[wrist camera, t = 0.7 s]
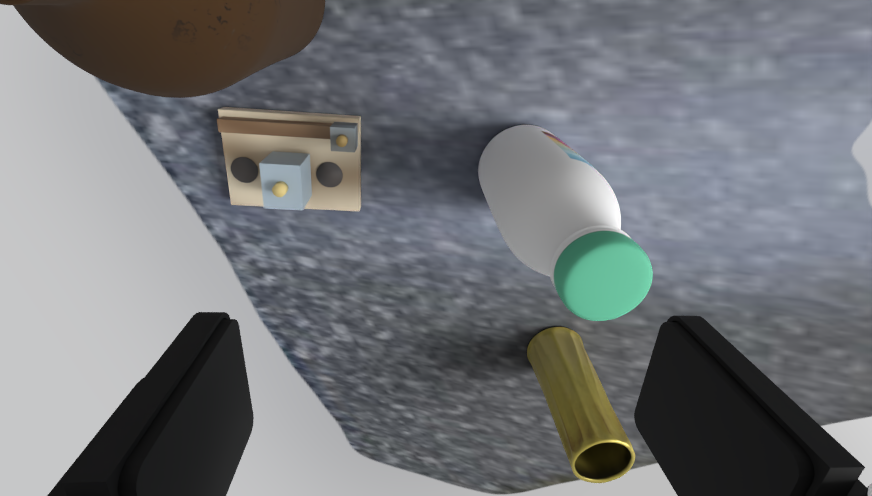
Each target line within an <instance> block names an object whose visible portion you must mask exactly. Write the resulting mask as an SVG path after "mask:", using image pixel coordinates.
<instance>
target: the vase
mask: <svg viewBox="0 0 872 496" xmlns="http://www.w3.org/2000/svg"><path fill="white" fill-rule="evenodd" d="M527 357H528V360H529V362H530V363H531V365H532V367H533V370H534V372H535V375H536V377H537V379H538V382H539V384H540V386H541V388H542V391H543V393H544V396H545V398H546V401H547V404H548V406H549V409H550V411H551V414H552V417H553V419H554V422H555V425H556V428H557V430H558V433H559V436H560V438H561V441H562V444H563V447H564V449H565V452H566V454H567V457H568V459H569V462H570V465H571V467H572V470H573V473H574V474H575V475H576V476H577V477H578V478H579V479H581V480H584V481H587V482H591V483H604V482H608V481H612V480H615V479H617V478H620V477H621V476H623V475H624V474H625V473H626V472H628V471H629V470H630V469H631V467H632V465H633V463H634V460H635V453H634V450H633V448H632V445H631V443H630V441H629V439H628V438H627V436H626V434H625V432H624V430H623V428H622V426H621V424H620V422H619V420H618V418H617V416H616V414H615V412H614V410H613V409H612V407H611V405H610V402H609V400H608V398H607V396H606V393H605V391H604V389H603V387H602V384H601V382H600V380H599V378H598V376H597V374H596V372H595V369H594V367H593V365H592V363H591V361H590V359H589V357H588V355H587V353H586V351H585V349H584V346H583V343H582V340H581V337H580V336H579V335H578V334H577V333H576V332H575V331H573V330H571V329H568V328H565V327H552V328H548V329H545V330H543V331H541V332H540V333H538V334H537V335H536V336H535V337H534V338H533V339H532V340H531V341H530V343H529V345H528V348H527Z"/></svg>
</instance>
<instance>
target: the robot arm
mask: <svg viewBox="0 0 872 496" xmlns="http://www.w3.org/2000/svg"><path fill="white" fill-rule="evenodd" d="M634 418H635V423H636V426H637V428H638V430H639V432H640V434H641V435H642V437H643V439H644V440H645V442H646V444H647V445H648V447H649V449H650V450H651V452H652V454H653V455H654V457H655V459H656V460H657V462H658V464H659V465H660V467H661V468H662V470H663V472H664V473H665V475H666V477H667V479H668V480H669V482H670V483H671V485H672V487H673V489H674V490H675V492H676V494H677V495H678V496H872V484H870V485H869V486H868V488H867V487H865V486H864V485H863V484H862V483H861V482H860V481H859V480H858V477H859V476H860V474H861V473H862V470H863V469H864V468H865V467H864V466H863V465H862V464H861V463H860V462H859V461H858V460H857V459H855V458H854V457H853V456H852V455H851V454H850V453H849V452H848V451H847V450H846V449H845V448H844V447H842V446H841V445H840V444H839V443H838V442H837V441H836V440H835V439H834V438H833V437H832V436H831V435H829V434H828V433H827V432H826V431H825V430H824V429H823V428H822V427H821V426H820V425H819V424H817V423H816V422H815V421H814V420H813V419H812V418H811V417H810V416H809V415H808V414H807V413H806V412H804V411H803V410H802V409H801V408H800V407H799V406H798V405H797V404H796V403H795V402H794V401H793V400H791V399H790V398H789V397H788V396H787V395H786V394H785V393H784V392H783V391H782V390H781V389H780V388H778V387H777V386H776V385H775V384H774V383H773V382H772V381H771V380H770V379H769V378H768V377H766V376H765V375H764V374H763V373H762V372H761V371H760V370H759V369H758V368H757V367H756V366H755V365H753V364H752V363H751V362H750V361H749V360H748V359H747V358H746V357H745V356H744V355H743V354H742V353H740V352H739V351H738V350H737V349H736V348H735V347H734V346H733V345H732V344H731V343H730V342H728V341H727V340H726V339H725V338H724V337H723V336H722V335H721V334H720V333H719V332H718V331H717V330H715V329H714V328H713V327H712V326H711V325H710V324H709V323H708V322H707V321H706V320H705V319H703V318H702V317H700V316H672V317H670V318H669V319H668V321H667V322H665V323H663V324H662V325H661V327H660V330H659V333H658V336H657V340H656V343H655V346H654V350H653V353H652V356H651V359H650V363H649V366H648V369H647V373H646V376H645V379H644V383H643V386H642V389H641V392H640V396H639V399H638V402H637V406H636V409H635V413H634ZM252 427H253V410H252V404H251V398H250V392H249V385H248V379H247V373H246V367H245V361H244V355H243V348H242V342H241V336H240V330H239V325H238V322H237V320H235V319H230V317H229V315H228V314H227V313H225V312H220V313H219V312H199V313H196V314H195V315H194V316H193V317H192V318H191V319H190V321H189V322H188V323H187V325H186V326H185V327H184V328H183V330H182V331H181V332H180V333H179V335H178V336H177V337H176V338H175V340H174V341H173V342H172V344H171V345H170V346H169V347H168V349H167V350H166V351H165V352H164V354H163V355H162V356H161V357H160V359H159V360H158V361H157V363H156V364H155V365H154V366H153V368H152V369H151V370H150V371H149V373H148V374H147V375H146V377H145V378H143V379H141V380H140V382H138V383H137V384H136V385H135V387H134V388H133V389H132V390H131V392H130V393H129V394H128V395H127V397H126V398H125V399H124V400H123V402H122V403H121V404H120V405H119V407H118V408H117V409H116V410H115V412H114V413H113V414H112V415H111V417H110V418H109V419H108V420H107V422H106V423H105V424H104V426H103V427H102V428H101V429H100V430H99V432H98V433H97V434H96V435H95V437H94V438H93V439H92V441H91V442H90V443H89V444H88V446H87V447H86V448H85V449H84V451H83V452H82V453H81V454H80V456H79V457H78V458H77V459H76V461H75V462H74V463H73V464H72V466H71V467H70V468H69V469H68V471H67V472H66V473H65V474H64V476H63V477H62V478H61V480H60V481H59V482H58V483H57V484H56V486H55V487H54V488H53V489H52V491H51V492H50V493H49V494H48V496H226V494H227V492H228V489H229V486H230V484H231V481H232V479H233V476H234V474H235V472H236V469H237V467H238V464H239V462H240V459H241V457H242V454H243V452H244V449H245V447H246V444H247V442H248V439H249V437H250V434H251V431H252Z"/></svg>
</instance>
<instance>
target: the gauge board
mask: <svg viewBox="0 0 872 496" xmlns="http://www.w3.org/2000/svg"><path fill="white" fill-rule="evenodd" d="M218 113H219V118H218V119H217V124H218V131H219V132H221V135H222V142H223V149H224V156H225V163H226V171H227V178H228V185H229V192H230V199H231V205H246V206H264V205H263V195H262V185H261V176H260V166H259V163H260V162H261V161H262V160H263V159H265V158H266V157H267V156H268V155H269V154H270V153H271V152H272V151H275V152H292V153H308V154H310V166H311V185H312V196H311V198H310V199H309V201H308V203H307V204H306V206H305V208H304V209H323V210H343V211H360V208H361V116H352V115H337V114H322V113H308V112H293V111H278V110H263V109H248V108H234V107H222V108H220V109H218Z"/></svg>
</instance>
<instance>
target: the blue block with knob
mask: <svg viewBox="0 0 872 496" xmlns="http://www.w3.org/2000/svg"><path fill="white" fill-rule="evenodd" d="M259 166H260V176H261V185H262V195H263V205H264V208H267V209H287V210H303V209H304V208H305V206H306V204H307V203H308V201H309V199H310V198H311V196H312V185H311V166H310V154H308V153H292V152H275V151H272V152H271V153H270V154H269V155H268V156H267V157H266V158H265V159H263V160H262V161H261V162H260V163H259Z"/></svg>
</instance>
